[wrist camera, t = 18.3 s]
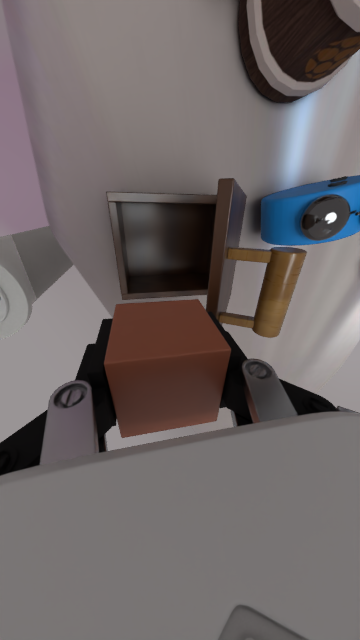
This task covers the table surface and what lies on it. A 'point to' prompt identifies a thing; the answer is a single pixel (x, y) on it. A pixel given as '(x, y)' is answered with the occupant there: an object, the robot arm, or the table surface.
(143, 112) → the table surface
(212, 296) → the lid
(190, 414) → the block
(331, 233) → the alarm clock
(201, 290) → the chest
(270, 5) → the mug
